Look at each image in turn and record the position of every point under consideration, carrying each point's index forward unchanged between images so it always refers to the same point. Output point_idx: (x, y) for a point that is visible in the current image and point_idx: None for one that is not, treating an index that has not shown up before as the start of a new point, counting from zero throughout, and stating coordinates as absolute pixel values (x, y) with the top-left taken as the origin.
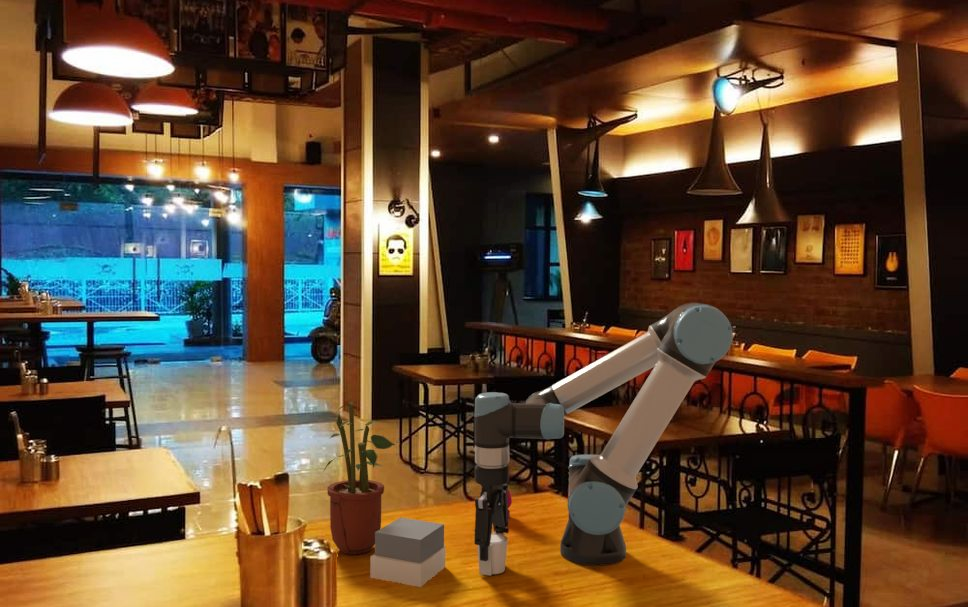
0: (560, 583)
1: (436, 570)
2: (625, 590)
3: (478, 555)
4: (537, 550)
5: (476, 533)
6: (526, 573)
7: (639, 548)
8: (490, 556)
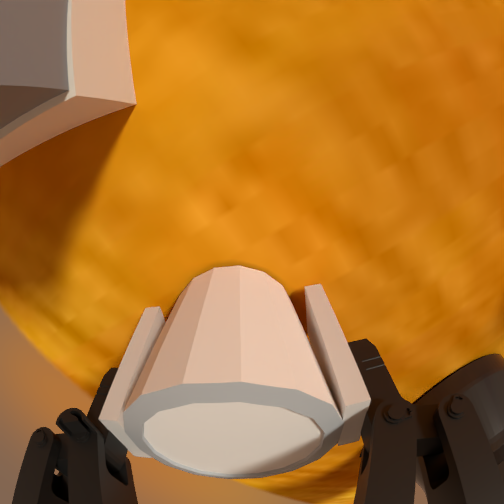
0: None
1: (43, 138)
2: (291, 485)
3: (169, 325)
4: (469, 323)
5: (26, 482)
6: None
7: None
8: None
